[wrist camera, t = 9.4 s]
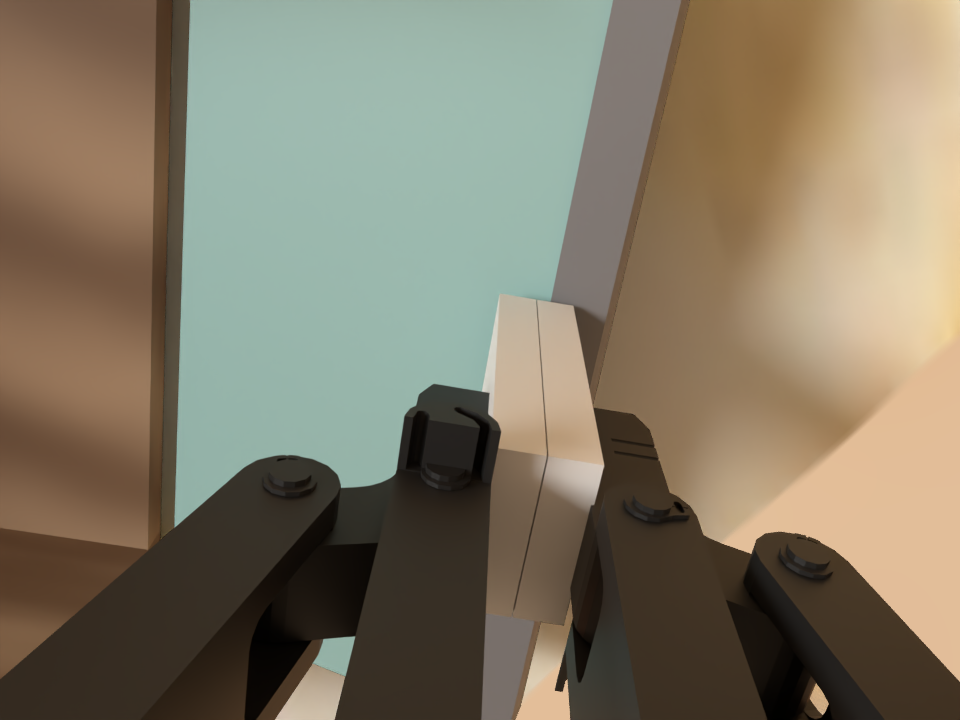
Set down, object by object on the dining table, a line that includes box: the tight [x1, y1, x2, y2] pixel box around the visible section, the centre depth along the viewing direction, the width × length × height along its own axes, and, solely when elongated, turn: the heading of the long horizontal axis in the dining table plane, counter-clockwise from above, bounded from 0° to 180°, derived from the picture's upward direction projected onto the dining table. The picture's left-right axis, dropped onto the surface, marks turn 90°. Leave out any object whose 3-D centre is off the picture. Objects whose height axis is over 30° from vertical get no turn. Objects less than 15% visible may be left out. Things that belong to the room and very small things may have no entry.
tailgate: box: [174, 0, 690, 720], centre depth 20 cm, size 21×1×10 cm
